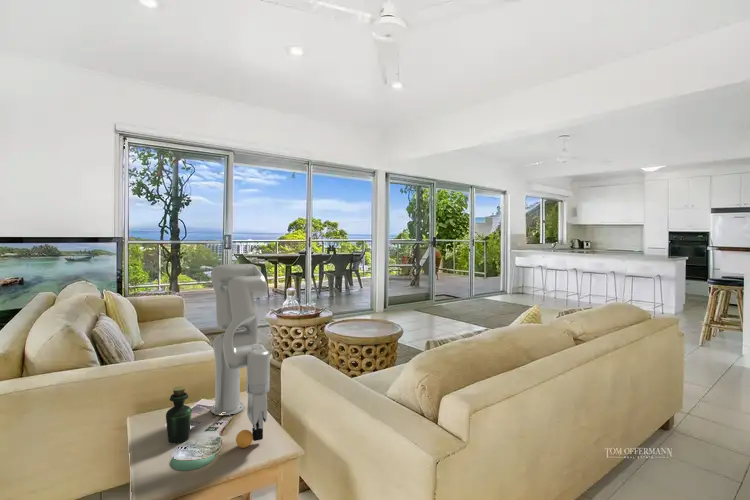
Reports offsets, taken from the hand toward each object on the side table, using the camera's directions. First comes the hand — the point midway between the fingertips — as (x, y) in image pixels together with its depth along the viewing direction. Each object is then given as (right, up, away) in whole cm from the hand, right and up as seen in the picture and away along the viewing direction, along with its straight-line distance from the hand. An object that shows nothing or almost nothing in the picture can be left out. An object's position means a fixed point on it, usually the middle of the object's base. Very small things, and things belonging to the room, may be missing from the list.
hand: (257, 439), depth 135 cm
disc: (-18, -1, -10) cm, 20 cm away
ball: (-4, +1, -2) cm, 5 cm away
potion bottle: (-28, -1, +2) cm, 28 cm away
